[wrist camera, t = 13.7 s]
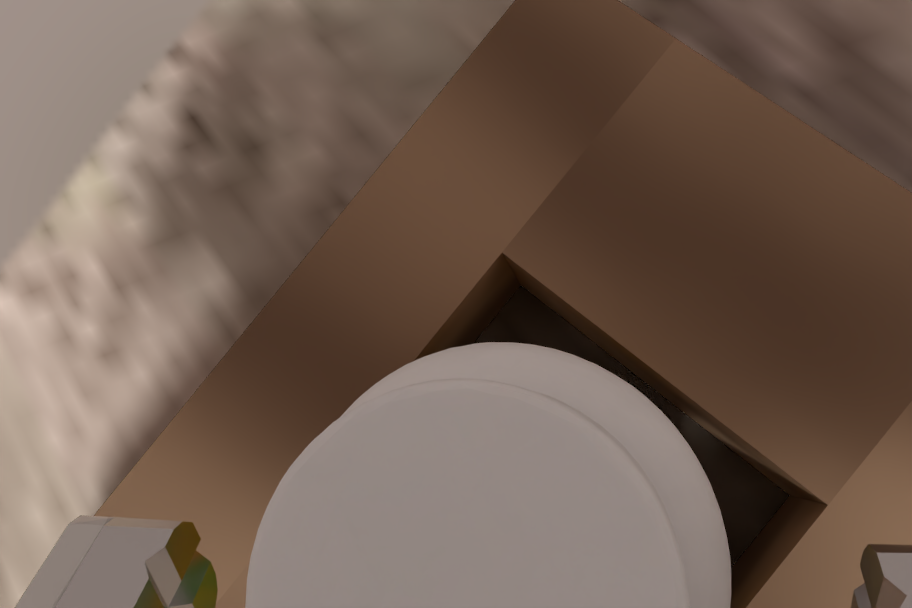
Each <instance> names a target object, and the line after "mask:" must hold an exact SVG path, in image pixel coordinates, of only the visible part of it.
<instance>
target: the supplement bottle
mask: <svg viewBox="0 0 912 608" xmlns="http://www.w3.org/2000/svg"><path fill="white" fill-rule="evenodd" d="M730 604H731V560H730V552H729V546H728V540H727V535H726V531H725V527H724V523H723V519H722V515H721V511H720V508H719V505H718V502H717V500H716V497H715V494H714V492H713V489H712V486H711V484H710V482H709V480H708V478H707V476H706V474H705V472H704V470H703V468H702V466H701V464H700V462H699V461H698V459H697V457H696V455H695V454H694V452H693V450H692V449H691V447H690V446H689V444H688V443H687V442H686V440H685V439H684V438H683V436H682V435H681V434H680V432H679V431H678V430H677V428H676V427H675V426H674V424H673V423H672V422H671V421H670V420H669V419H668V418H667V417H666V416H665V415H664V413H663V412H662V411H661V410H660V409H659V408H658V407H656V406H655V405H654V404H653V403H652V402H651V401H650V400H649V399H648V398H647V397H646V396H644V395H643V394H642V393H641V392H640V391H638V390H637V389H636V388H635V387H633V386H632V385H630V384H629V383H627V382H626V381H624V380H623V379H621V378H619V377H618V376H616V375H614V374H613V373H611V372H609V371H608V370H606V369H604V368H602V367H600V366H599V365H597V364H594V363H592V362H590V361H587V360H585V359H582V358H580V357H578V356H575V355H573V354H570V353H566V352H563V351H560V350H556V349H553V348H548V347H543V346H538V345H533V344H523V343H514V342H486V343H475V344H470V345H465V346H459V347H453V348H449V349H446V350H443V351H439V352H436V353H433V354H430V355H427V356H424V357H422V358H420V359H417V360H415V361H413V362H411V363H408V364H406V365H404V366H403V367H401V368H399V369H397V370H396V371H394V372H392V373H391V374H389V375H387V376H386V377H384V378H383V379H382V380H380V381H379V382H377V383H376V384H375V385H373V386H372V387H371V388H370V389H368V390H367V391H366V392H365V393H363V394H362V395H361V396H360V397H359V398H358V399H357V400H356V401H355V402H354V403H353V404H352V405H351V406H350V407H349V408H348V409H347V410H346V411H345V412H344V413H343V415H342V416H341V417H340V418H339V419H337V420H336V421H334V422H333V423H332V424H331V425H329V426H328V427H327V428H326V429H325V430H324V431H323V432H322V433H321V434H319V435H318V436H317V437H316V438H315V439H314V440H313V441H312V442H311V443H310V444H309V445H308V446H307V447H306V448H305V449H304V451H303V452H302V453H301V454H300V455H299V456H298V458H297V459H296V460H295V461H294V462H293V464H292V465H291V466H290V467H289V469H288V470H287V472H286V473H285V475H284V476H283V478H282V479H281V481H280V483H279V485H278V486H277V488H276V490H275V492H274V494H273V496H272V498H271V500H270V502H269V504H268V506H267V508H266V511H265V513H264V515H263V518H262V520H261V523H260V526H259V528H258V531H257V535H256V539H255V542H254V546H253V549H252V553H251V557H250V563H249V569H248V575H247V587H246V604H245V608H730Z"/></svg>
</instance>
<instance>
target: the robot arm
mask: <svg viewBox="0 0 912 608" xmlns="http://www.w3.org/2000/svg"><path fill="white" fill-rule="evenodd" d="M200 540H201V538H200V536H199V534H198V532H197V530H196V528H195V526H194V524H193V522H185V521H170V520H155V519H139V518H124V517H104V516H82V515H80V516H79V517H78V518H76V519H75V520H73V521H72V522H71V523H69V524H68V526H67V527H66V528H65V530H64V532H63V533H62V535H61V536H60V538H59V539H58V541H57V542H56V544H55V546H54V547H53V549H52V550H51V552H50V553H49V555H48V556H47V558H46V560H45V561H44V563H43V564H42V566H41V567H40V569H39V570H38V572H37V574H36V575H35V577H34V578H33V580H32V581H31V583H30V584H29V586H28V588H27V589H26V591H25V592H24V594H23V595H22V597H21V598H20V600H19V602H18V603H17V605H16V606H15V608H215V606H216V600H217V593H218V587H217V579H216V573H215V571H214V568H213V566H212V563H211V561H209V560H208V559H207V558H205V557H204V556H203V555H201V554H200V553H199V552H197V551H196V549H197V547H198V544H199V542H200ZM860 568H861V571H862V575H863V579H864V582H865V583H863V584H862V585H860V586H859V587H858V588H856V589H855V590H854V592H853V598H852V603H851V608H912V545H895V544H868V545H867V547H866V548H865V549H864V550H863V554H862V558H861V562H860Z"/></svg>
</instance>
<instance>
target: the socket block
mask: <svg viewBox="0 0 912 608" xmlns="http://www.w3.org/2000/svg"><path fill="white" fill-rule="evenodd" d="M520 285H521V286H523V287H524V288H525V289H527V290H528V291H529V292H530V293H532V294H533V295H534V296H535V297H537V298H538V299H539V300H541V301H542V302H543V303H544V304H546V305H547V306H548V307H550V308H551V309H552V310H553V311H555V312H556V313H557V314H558V315H560V316H561V317H562V318H564V319H565V320H566V321H567V322H569V323H570V324H571V325H573V326H574V327H575V328H576V329H578V330H579V331H580V332H582V333H583V334H584V335H585V336H587V337H588V338H589V339H590V340H592V341H593V342H594V343H596V344H597V345H598V346H599V347H601V348H602V349H603V350H605V351H606V352H607V353H608V354H610V355H611V356H612V357H613V358H615V359H616V360H617V361H619V362H620V363H621V364H622V365H624V366H625V367H626V368H628V369H629V370H630V371H631V372H633V373H634V374H635V375H637V376H638V377H639V378H640V379H642V380H643V381H644V382H645V383H647V384H648V385H649V386H651V387H652V388H653V389H654V390H656V391H657V392H658V393H660V394H661V395H662V396H663V397H665V398H666V399H667V400H669V401H670V402H671V403H672V404H674V405H675V406H676V407H677V408H679V409H680V410H681V411H683V412H684V413H685V414H686V415H688V416H689V417H690V418H692V419H693V420H694V421H695V422H697V423H698V424H699V425H700V426H702V427H703V428H704V429H706V430H707V431H708V432H709V433H711V434H712V435H713V436H715V437H716V438H717V439H718V440H720V441H721V442H722V443H724V444H725V445H726V446H727V447H729V448H730V449H731V450H732V451H734V452H735V453H736V454H738V455H739V456H740V457H741V458H743V459H744V460H745V461H747V462H748V463H749V464H750V465H752V466H753V467H754V468H756V469H757V470H758V471H759V472H761V473H762V474H763V475H764V476H766V477H767V478H768V479H770V480H771V481H772V482H773V483H775V484H776V485H777V486H779V487H780V488H781V489H782V490H784V491H785V492H786V493H787V494H789V495H790V496H789V497H788V498H787V500H786V501H785V502H784V503H783V505H782V506H781V507H780V508H779V510H778V511H777V512H776V513H775V515H774V516H773V517H772V518H771V520H770V521H769V522H768V523H767V525H766V526H765V527H764V528H763V530H762V531H761V532H760V533H759V535H758V536H757V537H756V538H755V539H754V541H753V542H752V543H751V544H750V546H749V547H748V548H747V549H746V551H745V552H744V553H743V554H742V556H741V557H740V558H739V559H738V561H737V562H736V563H735V564H734V566H733V567H732V568H731V604H730V608H851V603H852V598H853V592H854V590H855V589H856V588H858V587H859V586H860V585H862V584H863V583H865V582H864V579H863V575H862V571H861V568H860V562H861V558H862V554H863V550H864V549H865V548H866V547H867V545H868V544H895V545H912V193H911V192H910V191H908V190H907V189H905V188H903V187H902V186H900V185H899V184H897V183H896V182H894V181H893V180H891V179H890V178H888V177H887V176H885V175H884V174H882V173H881V172H879V171H878V170H876V169H874V168H873V167H871V166H870V165H868V164H867V163H865V162H864V161H862V160H861V159H859V158H858V157H856V156H855V155H853V154H852V153H850V152H849V151H847V150H845V149H844V148H842V147H841V146H839V145H838V144H836V143H835V142H833V141H832V140H830V139H829V138H827V137H826V136H824V135H823V134H821V133H820V132H818V131H816V130H815V129H813V128H812V127H810V126H809V125H807V124H806V123H804V122H803V121H801V120H800V119H798V118H797V117H795V116H794V115H792V114H791V113H789V112H787V111H786V110H784V109H783V108H781V107H780V106H778V105H777V104H775V103H774V102H772V101H771V100H769V99H768V98H766V97H765V96H763V95H762V94H760V93H758V92H757V91H755V90H754V89H752V88H751V87H749V86H748V85H746V84H745V83H743V82H742V81H740V80H739V79H737V78H736V77H734V76H733V75H731V74H729V73H728V72H726V71H725V70H723V69H722V68H720V67H719V66H717V65H716V64H714V63H713V62H711V61H710V60H708V59H707V58H705V57H703V56H702V55H700V54H699V53H697V52H696V51H694V50H693V49H691V48H690V47H688V46H687V45H685V44H684V43H682V42H681V41H679V40H678V39H676V38H674V37H673V36H671V35H670V34H668V33H667V32H665V31H664V30H662V29H661V28H659V27H658V26H656V25H655V24H653V23H652V22H650V21H649V20H647V19H645V18H644V17H642V16H641V15H639V14H638V13H636V12H635V11H633V10H632V9H630V8H629V7H627V6H626V5H624V4H623V3H621V2H620V1H618V0H515V1H514V3H513V4H512V5H511V6H510V8H509V9H508V10H507V11H506V12H505V14H504V15H503V16H502V17H501V19H500V20H499V21H498V22H497V23H496V25H495V26H494V27H493V28H492V30H491V31H490V32H489V33H488V34H487V36H486V37H485V38H484V39H483V41H482V42H481V43H480V44H479V45H478V47H477V48H476V49H475V50H474V52H473V53H472V54H471V55H470V56H469V58H468V59H467V60H466V61H465V63H464V64H463V65H462V66H461V67H460V69H459V70H458V71H457V72H456V74H455V75H454V76H453V77H452V78H451V80H450V81H449V82H448V83H447V85H446V86H445V87H444V88H443V89H442V91H441V92H440V93H439V94H438V96H437V97H436V98H435V99H434V100H433V102H432V103H431V104H430V105H429V107H428V108H427V109H426V110H425V111H424V113H423V114H422V115H421V116H420V118H419V119H418V120H417V121H416V122H415V124H414V125H413V126H412V127H411V129H410V130H409V131H408V132H407V133H406V135H405V136H404V137H403V138H402V140H401V141H400V142H399V143H398V144H397V146H396V147H395V148H394V149H393V151H392V152H391V153H390V154H389V155H388V157H387V158H386V159H385V160H384V162H383V163H382V164H381V165H380V166H379V168H378V169H377V170H376V171H375V173H374V174H373V175H372V176H371V177H370V179H369V180H368V181H367V182H366V184H365V185H364V186H363V187H362V188H361V190H360V191H359V192H358V193H357V195H356V196H355V197H354V198H353V199H352V201H351V202H350V203H349V204H348V206H347V207H346V208H345V209H344V210H343V212H342V213H341V214H340V215H339V217H338V218H337V219H336V220H335V221H334V223H333V224H332V225H331V226H330V228H329V229H328V230H327V231H326V232H325V234H324V235H323V236H322V237H321V239H320V240H319V241H318V242H317V243H316V245H315V246H314V247H313V248H312V250H311V251H310V252H309V253H308V254H307V256H306V257H305V258H304V259H303V261H302V262H301V263H300V264H299V265H298V267H297V268H296V269H295V270H294V272H293V273H292V274H291V275H290V276H289V278H288V279H287V280H286V281H285V283H284V284H283V285H282V286H281V287H280V289H279V290H278V291H277V292H276V294H275V295H274V296H273V297H272V298H271V300H270V301H269V302H268V303H267V305H266V306H265V307H264V308H263V309H262V311H261V312H260V313H259V314H258V316H257V317H256V318H255V319H254V320H253V322H252V323H251V324H250V325H249V327H248V328H247V329H246V330H245V331H244V333H243V334H242V335H241V336H240V338H239V339H238V340H237V341H236V342H235V344H234V345H233V346H232V347H231V349H230V350H229V351H228V352H227V353H226V355H225V356H224V357H223V358H222V360H221V361H220V362H219V363H218V364H217V366H216V367H215V368H214V369H213V371H212V372H211V373H210V374H209V375H208V377H207V378H206V379H205V380H204V382H203V383H202V384H201V385H200V386H199V388H198V389H197V390H196V391H195V393H194V394H193V395H192V396H191V397H190V399H189V400H188V401H187V402H186V404H185V405H184V406H183V407H182V408H181V410H180V411H179V412H178V413H177V415H176V416H175V417H174V418H173V419H172V421H171V422H170V423H169V424H168V426H167V427H166V428H165V429H164V430H163V432H162V433H161V434H160V435H159V437H158V438H157V439H156V440H155V441H154V443H153V444H152V445H151V446H150V448H149V449H148V450H147V451H146V452H145V454H144V455H143V456H142V457H141V459H140V460H139V461H138V462H137V463H136V465H135V466H134V467H133V468H132V470H131V471H130V472H129V473H128V474H127V476H126V477H125V478H124V479H123V481H122V482H121V483H120V484H119V485H118V487H117V488H116V489H115V490H114V492H113V493H112V494H111V495H110V496H109V498H108V499H107V500H106V501H105V503H104V504H103V505H102V506H101V507H100V509H99V510H98V511H97V512H96V514H95V515H94V516H104V517H124V518H139V519H155V520H170V521H185V522H193V524H194V526H195V528H196V530H197V532H198V534H199V536H200V538H201V540H200V542H199V544H198V547H197V549H196V551H197V552H199V553H200V554H201V555H203V556H204V557H205V558H207V559H208V560H209V561H211V563H212V566H213V568H214V571H215V573H216V579H217V587H218V593H217V600H216V606H215V608H245V604H246V587H247V575H248V569H249V563H250V557H251V553H252V549H253V546H254V542H255V539H256V535H257V531H258V528H259V526H260V523H261V520H262V518H263V515H264V513H265V511H266V508H267V506H268V504H269V502H270V500H271V498H272V496H273V494H274V492H275V490H276V488H277V486H278V485H279V483H280V481H281V479H282V478H283V476H284V475H285V473H286V472H287V470H288V469H289V467H290V466H291V465H292V464H293V462H294V461H295V460H296V459H297V458H298V456H299V455H300V454H301V453H302V452H303V451H304V449H305V448H306V447H307V446H308V445H309V444H310V443H311V442H312V441H313V440H314V439H315V438H316V437H317V436H318V435H319V434H321V433H322V432H323V431H324V430H325V429H326V428H327V427H328V426H329V425H331V424H332V423H333V422H334V421H336V420H337V419H339V418H340V417H341V416H342V415H343V413H344V412H345V411H346V410H347V409H348V408H349V407H350V406H351V405H352V404H353V403H354V402H355V401H356V400H357V399H358V398H359V397H360V396H361V395H362V394H363V393H365V392H366V391H367V390H368V389H370V388H371V387H372V386H373V385H375V384H376V383H377V382H379V381H380V380H382V379H383V378H384V377H386V376H387V375H389V374H391V373H392V372H394V371H396V370H397V369H399V368H401V367H403V366H404V365H406V364H408V363H411V362H413V361H415V360H417V359H420V358H422V357H424V356H427V355H430V354H433V353H436V352H439V351H443V350H446V349H449V348H453V347H459V346H465V345H470V344H473V343H474V342H475V341H476V339H477V338H478V337H479V336H480V334H481V333H482V332H483V331H484V329H485V328H486V327H487V326H488V325H489V323H490V322H491V321H492V320H493V318H494V317H495V316H496V315H497V314H498V312H499V311H500V310H501V309H502V307H503V306H504V305H505V304H506V302H507V301H508V300H509V299H510V298H511V296H512V295H513V294H514V293H515V291H516V290H517V289H518V288H519V286H520Z"/></svg>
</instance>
